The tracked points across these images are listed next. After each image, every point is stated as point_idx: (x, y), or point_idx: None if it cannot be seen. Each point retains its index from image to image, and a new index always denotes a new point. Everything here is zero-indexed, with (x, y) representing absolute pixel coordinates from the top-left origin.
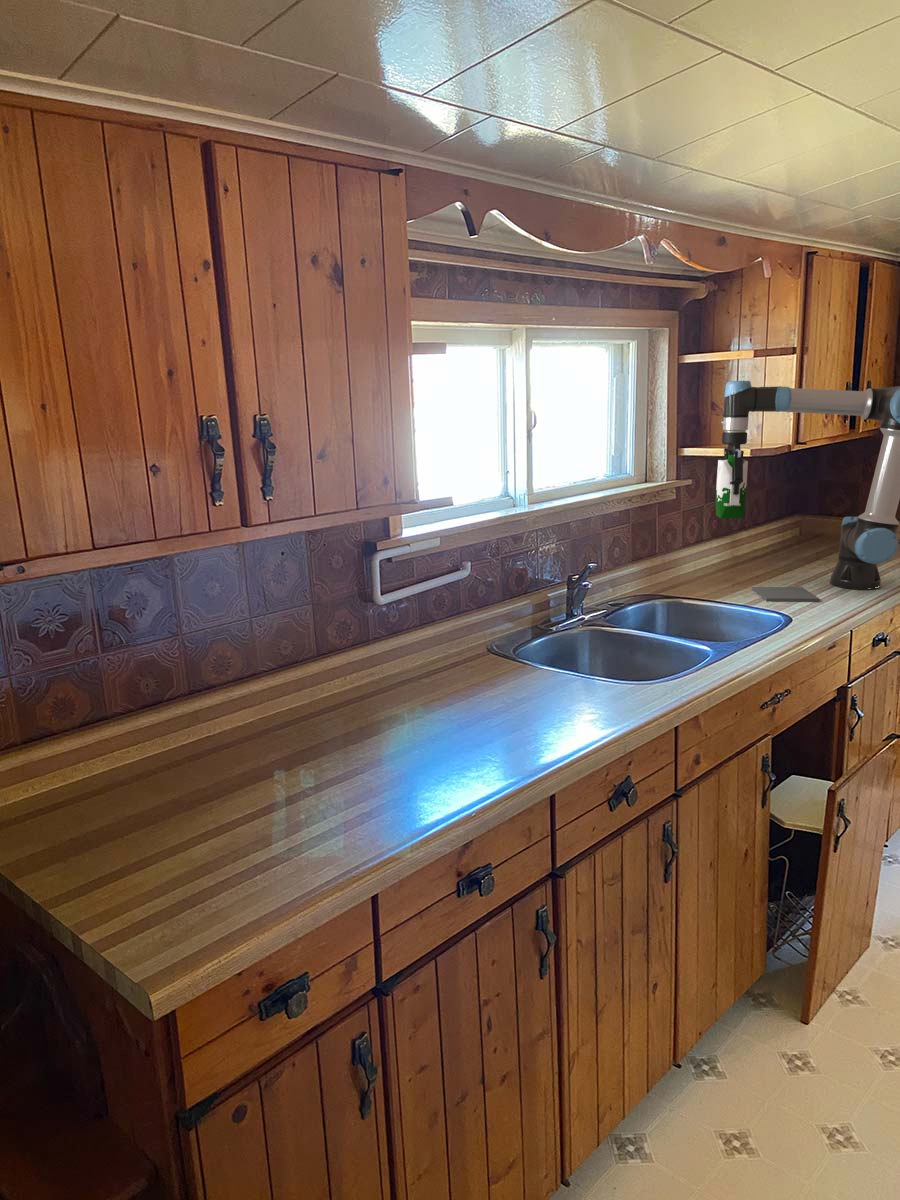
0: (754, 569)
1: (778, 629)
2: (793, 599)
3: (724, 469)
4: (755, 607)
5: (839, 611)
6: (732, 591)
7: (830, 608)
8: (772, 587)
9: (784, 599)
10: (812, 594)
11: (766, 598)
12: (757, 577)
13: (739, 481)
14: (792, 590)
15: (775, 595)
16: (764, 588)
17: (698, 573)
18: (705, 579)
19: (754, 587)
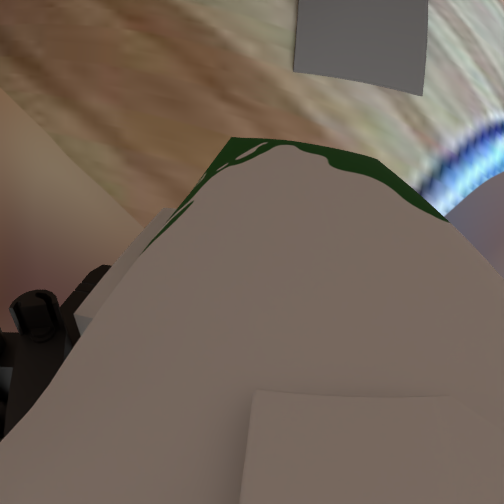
0: (58, 17)
1: None
2: (426, 37)
3: None
4: (460, 148)
5: (493, 8)
6: (308, 128)
7: (475, 6)
8: (304, 22)
9: (424, 56)
10: None
11: (421, 95)
12: (140, 17)
13: None
14: None
15: (396, 59)
16: (316, 47)
17: (96, 154)
18: (161, 153)
19: (302, 67)
